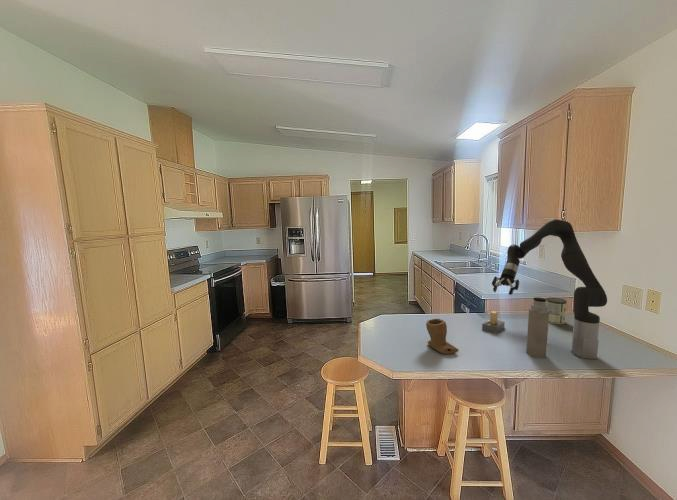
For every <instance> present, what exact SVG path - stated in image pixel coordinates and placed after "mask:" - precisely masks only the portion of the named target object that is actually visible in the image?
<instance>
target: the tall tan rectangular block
mask: <svg viewBox="0 0 677 500" xmlns="http://www.w3.org/2000/svg"><path fill="white" fill-rule="evenodd" d="M498 314H499V313H498V311H496V310H492V311H490V313H489V315H490V316H489V319H490V323H491V324H496V323H497V320H498Z"/></svg>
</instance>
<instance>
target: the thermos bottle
mask: <svg viewBox="0 0 677 500" xmlns="http://www.w3.org/2000/svg"><path fill="white" fill-rule="evenodd" d="M547 309H548V306H547V305H546V298H544V297H533V302H532V303H531V304H530V307H529V309H528V321H527V336H526V350H525V353H526V354H527V355H529V356H530V357H533V358H537V359H538V358H539V359H544V358H546V357H547V350H548V349H547V345H548V335H549V334H548V333H549V332H548V331H549V322H548V321H549V311H548V310H547Z"/></svg>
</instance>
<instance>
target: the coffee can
mask: <svg viewBox="0 0 677 500" xmlns="http://www.w3.org/2000/svg"><path fill="white" fill-rule="evenodd" d="M545 299H546V301H545V302H546V305H547V306H548V309H547V310H548V311H549V321H548V323H550V324H554V325H565V324H566V314H567V313H566V311H567V310H566V308H567V300H566V299H564V298H559V297H545Z"/></svg>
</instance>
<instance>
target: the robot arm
mask: <svg viewBox="0 0 677 500" xmlns="http://www.w3.org/2000/svg"><path fill="white" fill-rule="evenodd" d="M550 236H553V237H558V238H559V239H560V241H561V243H562V245H563V246H562V250H561V255H560V257H561V260H562V262H563V265H564V267H565V269H566V270H567V271H568V272H570V273H571V274H572V275H573V276H575V277H576V278H577V279H579V280H580V281H581V282H582V283H583V284H584V286H578V287H576V288H575V289H574V292H573V306H572V307H573V310H572V311H573V325H572V328H573V329H572V340H571V341H572V342H571V353H572V354H573V355H575V356H577V357H579V358H581V359H589V360H597V359H598V350H599V332H600V331H599V329H600V320H601V318H600V316H599V314H596V313H593V312H590V311H589V310H590V307H591V308H592V307H594V308H599V307H600V308H602V307H605V306H606V305H607V304H608V296H607V294H606V291H605V289H604V288H603V286H602V285H601V283H600V281H599V280H598V279H597V277H596V275H595V274H594V272H593V270H592V268H591V267H590V264H589V262H588V260H587V258H586V256H585V254H584V252H583V250H582V248H581V246H580V244H579V242H578V240H577V237H576V234H575V231H574V228H573V226H572V224H571V223H570V222H569V221H567V220H562V219H558V218H553V219H549V221H547V222H545V224H544V225H542V226H541V227H540V228H539V229H538V230H536V232H535V233H533V234H532V235H531V236H529V237H527V238H526V239H525V240H523V241H521V242H520V244H519V245H518V244H514V243H513V244H510V245H509V247H508V249H507V254H506V256H507V257H506V258H507V260H506V262H505V264H504V267H503V269H502V272H501V274H500V277H497V276H494V277H493V280H492V281H491V286H492V287H493V288H492V291H493V292H494V293H496V292H497V290H498V287H501V286H507V287H510V289H509V291H508V295H509V296H511V295H513V294H514V291H515V290H516V291H518V290H519V287H520V281H519V280H520V279H516V275H517V273H518V268H519V267H520V263H521V261H520V260H521V259H524V258H525V257H526V256H527V254H528V253H529V252H531V251H532V250H534V249H536V248H537V247H539V245H540V244H541V243H542V240H543V239H544V238H546V237H550ZM513 284H515V285H514V286H513Z"/></svg>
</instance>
